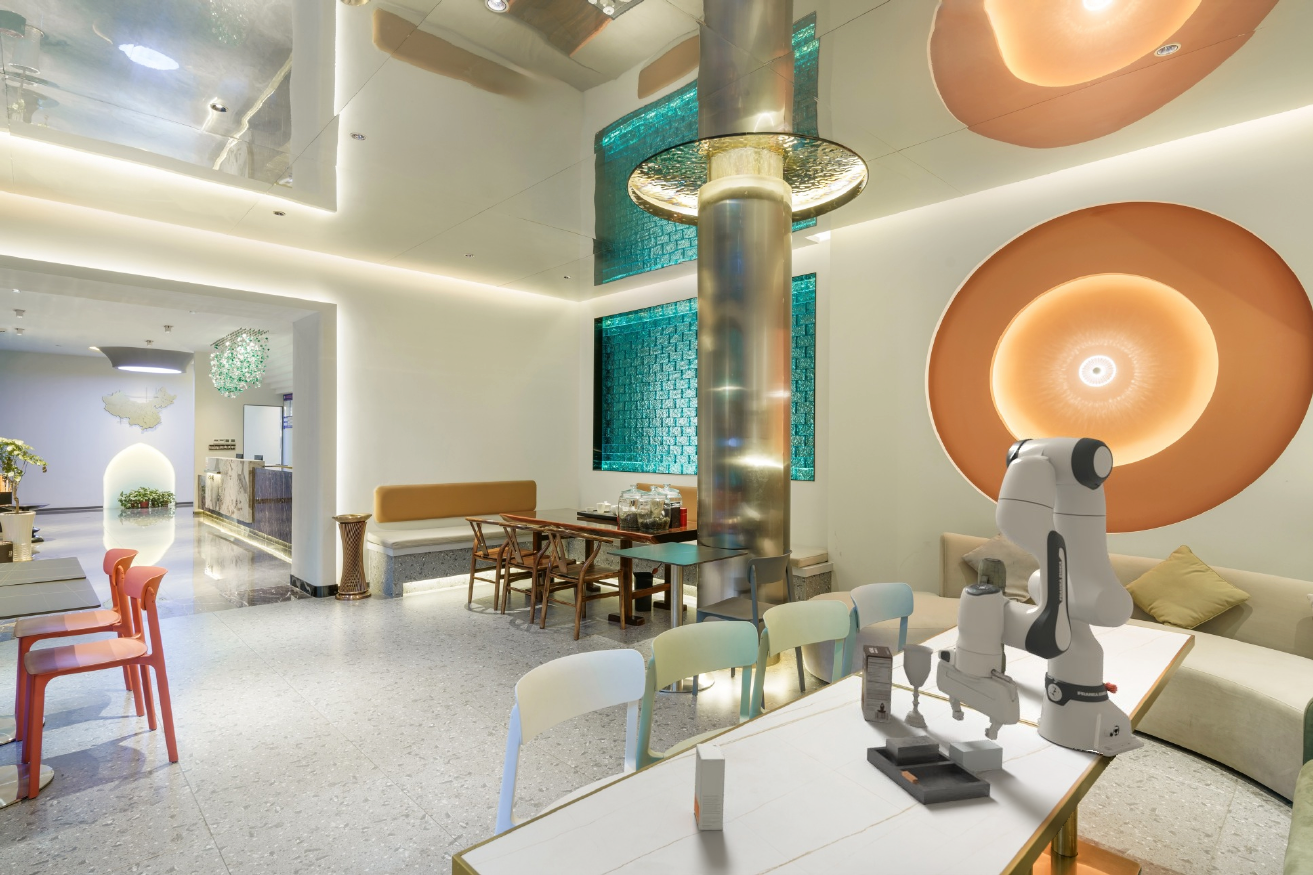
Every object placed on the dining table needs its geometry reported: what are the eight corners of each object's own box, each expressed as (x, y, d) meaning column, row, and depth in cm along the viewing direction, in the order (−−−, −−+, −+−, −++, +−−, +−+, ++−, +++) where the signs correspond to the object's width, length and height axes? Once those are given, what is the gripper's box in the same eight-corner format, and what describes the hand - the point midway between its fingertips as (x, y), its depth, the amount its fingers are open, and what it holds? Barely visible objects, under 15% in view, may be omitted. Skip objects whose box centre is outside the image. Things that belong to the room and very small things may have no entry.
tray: (926, 753, 144) (927, 728, 144) (989, 795, 126) (990, 768, 127) (866, 759, 140) (867, 734, 140) (923, 804, 122) (924, 775, 122)
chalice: (930, 719, 162) (932, 646, 163) (932, 730, 156) (934, 654, 156) (898, 714, 165) (901, 642, 165) (899, 725, 158) (901, 649, 159)
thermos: (1011, 675, 199) (1014, 559, 200) (998, 684, 191) (1002, 563, 192) (980, 668, 206) (983, 555, 206) (966, 676, 197) (970, 559, 198)
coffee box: (860, 706, 169) (862, 643, 170) (886, 709, 168) (888, 646, 168) (863, 720, 160) (866, 654, 161) (891, 723, 159) (894, 656, 159)
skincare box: (693, 811, 117) (695, 742, 117) (716, 811, 117) (719, 743, 117) (698, 831, 110) (701, 758, 111) (723, 830, 111) (726, 759, 111)
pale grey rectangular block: (987, 760, 142) (988, 739, 142) (1002, 769, 138) (1002, 747, 138) (948, 764, 139) (949, 743, 139) (962, 773, 135) (963, 751, 136)
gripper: (1030, 679, 130) (1026, 750, 130) (956, 647, 150) (952, 709, 149) (1004, 680, 128) (999, 751, 128) (932, 648, 148) (929, 710, 148)
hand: (973, 728), depth 139 cm, fingers open, 8 cm apart
